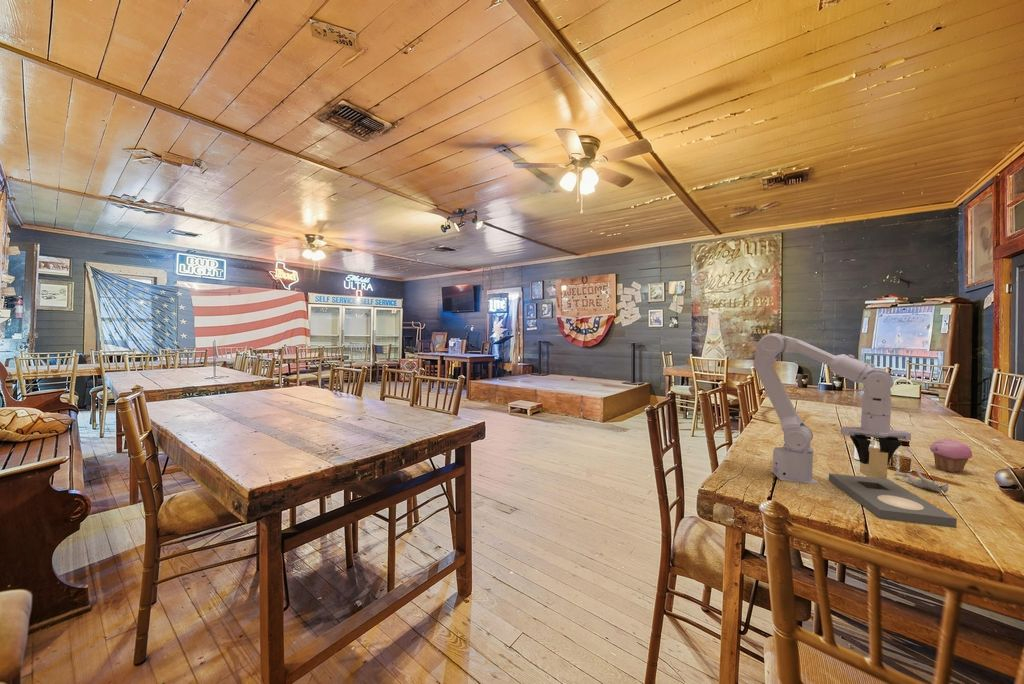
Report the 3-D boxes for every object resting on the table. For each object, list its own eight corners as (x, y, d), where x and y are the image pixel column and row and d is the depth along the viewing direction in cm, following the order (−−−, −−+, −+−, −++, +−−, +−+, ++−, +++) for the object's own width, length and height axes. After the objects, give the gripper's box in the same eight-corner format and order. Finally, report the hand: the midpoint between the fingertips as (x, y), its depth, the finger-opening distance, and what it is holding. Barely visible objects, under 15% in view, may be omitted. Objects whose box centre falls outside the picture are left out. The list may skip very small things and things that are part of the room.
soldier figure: (913, 484, 116) (963, 487, 104) (906, 496, 114) (957, 501, 103) (892, 465, 116) (939, 466, 105) (885, 477, 115) (933, 480, 104)
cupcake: (947, 465, 129) (949, 435, 128) (980, 475, 120) (981, 443, 120) (921, 465, 128) (923, 435, 128) (952, 476, 120) (954, 443, 119)
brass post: (868, 477, 104) (869, 451, 104) (859, 472, 108) (860, 446, 107) (886, 479, 103) (888, 452, 102) (877, 473, 107) (878, 448, 106)
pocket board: (879, 520, 91) (879, 508, 91) (828, 481, 114) (829, 472, 114) (956, 529, 87) (956, 517, 87) (887, 487, 110) (888, 478, 110)
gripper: (851, 414, 103) (849, 465, 103) (920, 419, 99) (917, 472, 99) (837, 409, 110) (835, 457, 110) (901, 413, 105) (899, 462, 106)
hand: (873, 463), depth 105 cm, fingers closed on brass post, 4 cm apart
